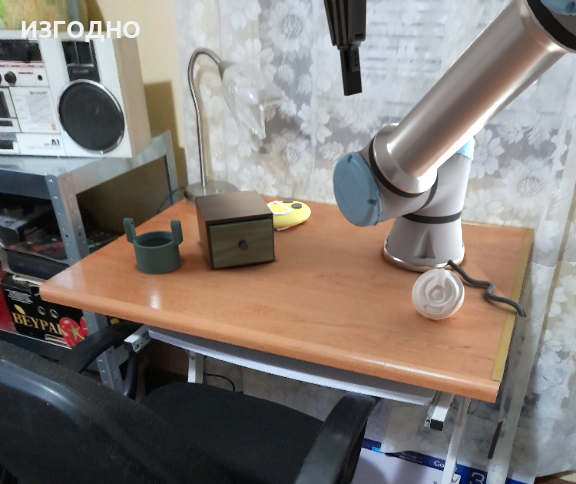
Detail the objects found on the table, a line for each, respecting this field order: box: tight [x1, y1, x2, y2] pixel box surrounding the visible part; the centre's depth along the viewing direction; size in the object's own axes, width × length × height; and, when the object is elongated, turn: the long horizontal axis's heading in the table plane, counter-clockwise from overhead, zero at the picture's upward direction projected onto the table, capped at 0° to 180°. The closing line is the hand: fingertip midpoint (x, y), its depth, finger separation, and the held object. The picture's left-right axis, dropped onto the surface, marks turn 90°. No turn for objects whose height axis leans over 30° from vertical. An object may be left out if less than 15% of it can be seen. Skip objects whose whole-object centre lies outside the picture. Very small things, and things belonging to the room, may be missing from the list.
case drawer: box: [209, 218, 273, 268], centre depth 102 cm, size 14×11×8 cm
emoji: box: [266, 197, 311, 232], centre depth 117 cm, size 4×12×12 cm
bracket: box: [122, 217, 184, 275], centre depth 100 cm, size 9×9×9 cm
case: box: [194, 189, 276, 271], centre depth 104 cm, size 14×13×10 cm
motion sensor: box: [411, 268, 465, 321], centre depth 84 cm, size 8×8×8 cm
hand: (353, 93), depth 89 cm, fingers closed
